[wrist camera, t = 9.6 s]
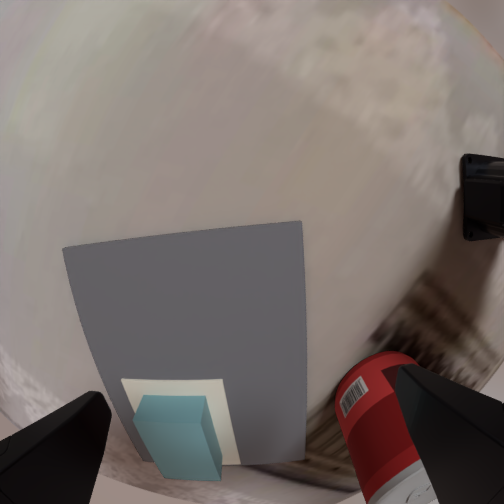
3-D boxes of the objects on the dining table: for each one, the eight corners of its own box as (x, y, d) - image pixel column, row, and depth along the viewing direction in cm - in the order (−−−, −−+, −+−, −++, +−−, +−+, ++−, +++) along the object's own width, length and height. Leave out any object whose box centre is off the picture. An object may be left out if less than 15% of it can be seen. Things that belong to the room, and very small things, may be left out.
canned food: (335, 429, 22) (366, 529, 11) (326, 365, 20) (373, 487, 9) (412, 402, 21) (464, 484, 11) (416, 334, 20) (498, 421, 9)
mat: (300, 220, 17) (302, 222, 17) (304, 455, 22) (305, 461, 22) (65, 247, 17) (60, 249, 17) (144, 457, 23) (142, 462, 22)
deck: (222, 455, 21) (220, 481, 18) (170, 454, 21) (164, 477, 18) (205, 395, 19) (200, 423, 17) (143, 394, 20) (132, 420, 17)
